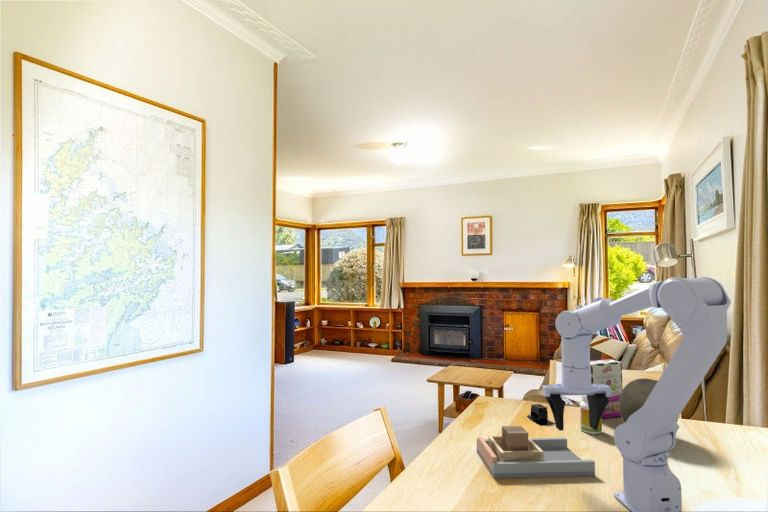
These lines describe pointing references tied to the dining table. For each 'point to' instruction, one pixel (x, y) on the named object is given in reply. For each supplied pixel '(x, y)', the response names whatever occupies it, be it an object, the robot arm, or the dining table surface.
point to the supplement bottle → (587, 418)
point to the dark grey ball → (635, 396)
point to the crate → (509, 456)
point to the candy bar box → (608, 383)
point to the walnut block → (514, 438)
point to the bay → (554, 465)
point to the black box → (539, 415)
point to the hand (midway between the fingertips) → (576, 428)
